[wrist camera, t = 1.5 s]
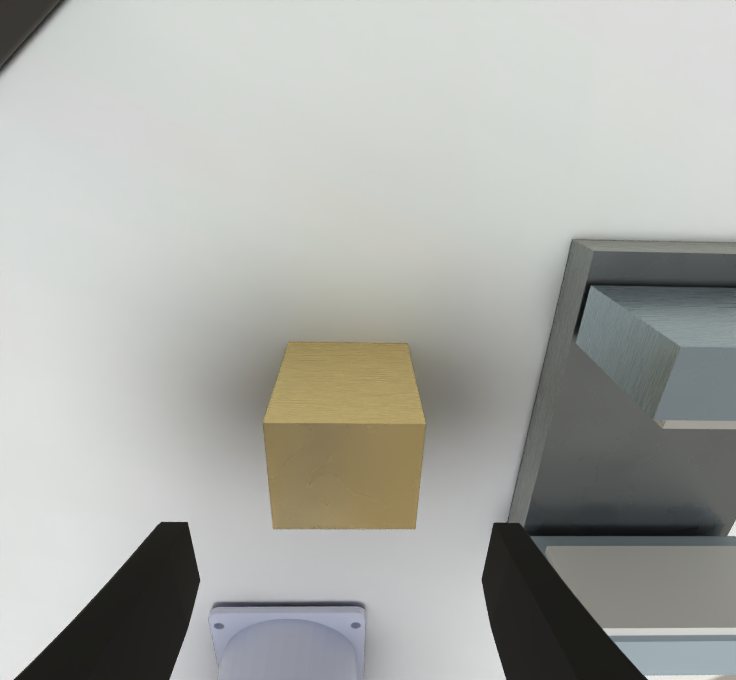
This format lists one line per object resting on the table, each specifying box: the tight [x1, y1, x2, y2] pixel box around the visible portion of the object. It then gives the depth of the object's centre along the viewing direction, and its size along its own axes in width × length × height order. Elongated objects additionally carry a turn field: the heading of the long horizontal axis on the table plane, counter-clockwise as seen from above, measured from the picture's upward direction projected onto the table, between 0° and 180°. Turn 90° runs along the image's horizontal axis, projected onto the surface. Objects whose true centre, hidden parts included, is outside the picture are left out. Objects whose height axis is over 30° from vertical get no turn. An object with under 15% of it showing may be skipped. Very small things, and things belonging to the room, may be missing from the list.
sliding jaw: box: [530, 536, 736, 675], centre depth 17 cm, size 2×9×4 cm, turn 89°
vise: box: [508, 240, 736, 536], centre depth 16 cm, size 16×9×6 cm, turn 179°
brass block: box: [263, 342, 426, 529], centre depth 15 cm, size 4×4×5 cm
